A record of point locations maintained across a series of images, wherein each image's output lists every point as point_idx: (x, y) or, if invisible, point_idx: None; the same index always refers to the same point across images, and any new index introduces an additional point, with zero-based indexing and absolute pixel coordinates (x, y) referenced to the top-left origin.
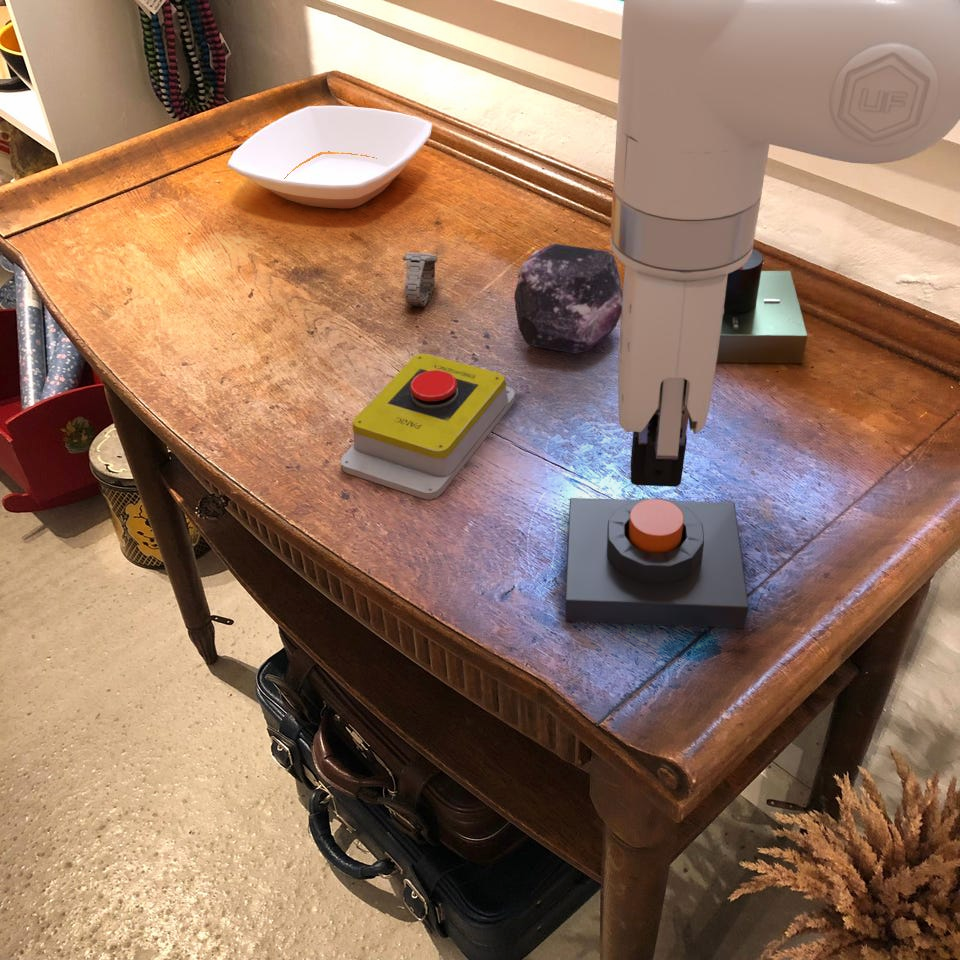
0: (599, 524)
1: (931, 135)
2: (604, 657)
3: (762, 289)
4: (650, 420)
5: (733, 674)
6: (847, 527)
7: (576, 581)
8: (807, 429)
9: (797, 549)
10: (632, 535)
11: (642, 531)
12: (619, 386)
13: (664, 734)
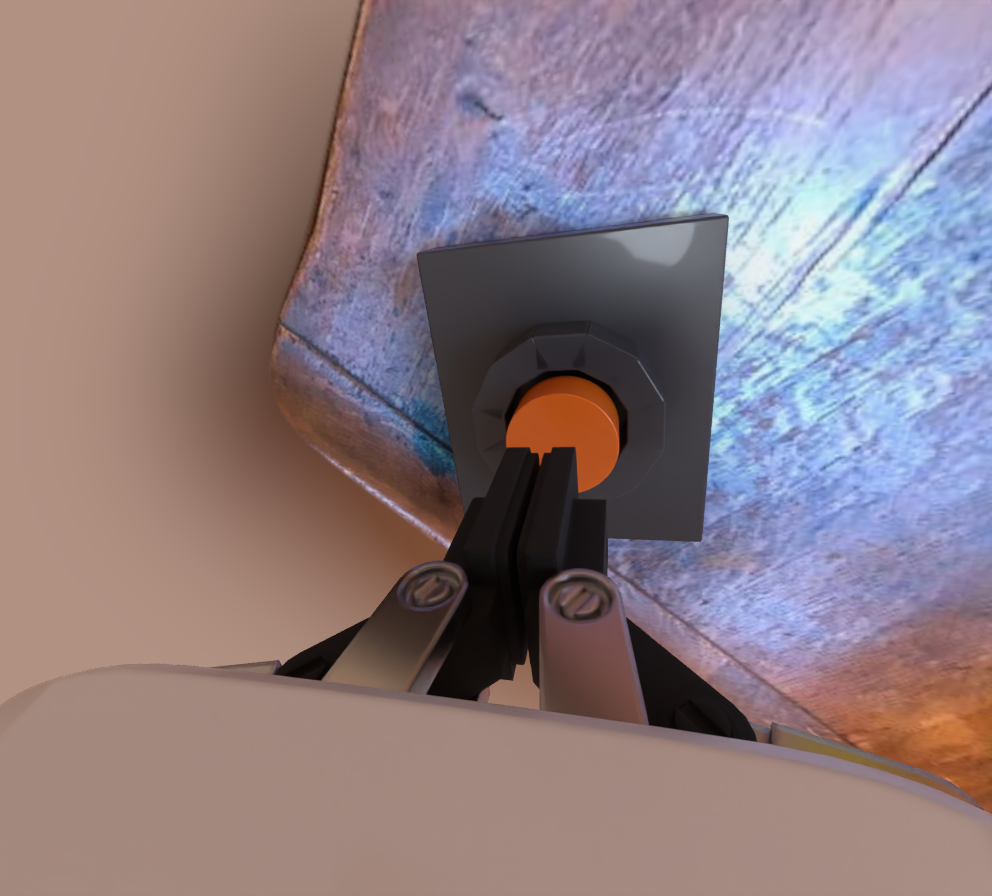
0: (633, 299)
1: None
2: (384, 322)
3: None
4: (526, 622)
5: (405, 486)
6: (684, 644)
7: (465, 269)
8: (954, 649)
9: (637, 584)
10: (534, 389)
11: (512, 419)
12: (108, 834)
13: (298, 406)
